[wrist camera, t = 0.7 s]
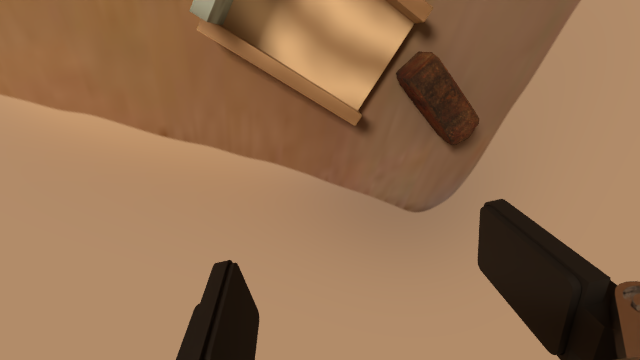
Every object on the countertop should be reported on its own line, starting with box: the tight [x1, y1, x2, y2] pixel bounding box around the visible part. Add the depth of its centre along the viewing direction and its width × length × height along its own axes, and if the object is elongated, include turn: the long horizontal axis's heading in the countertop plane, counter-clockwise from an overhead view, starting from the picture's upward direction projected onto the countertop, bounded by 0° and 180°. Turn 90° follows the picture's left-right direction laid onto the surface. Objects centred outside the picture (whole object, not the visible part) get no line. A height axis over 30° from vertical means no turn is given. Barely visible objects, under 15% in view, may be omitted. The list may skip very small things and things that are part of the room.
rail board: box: [190, 0, 433, 126], centre depth 27 cm, size 13×18×7 cm
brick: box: [396, 52, 479, 145], centre depth 33 cm, size 11×4×5 cm, turn 43°
